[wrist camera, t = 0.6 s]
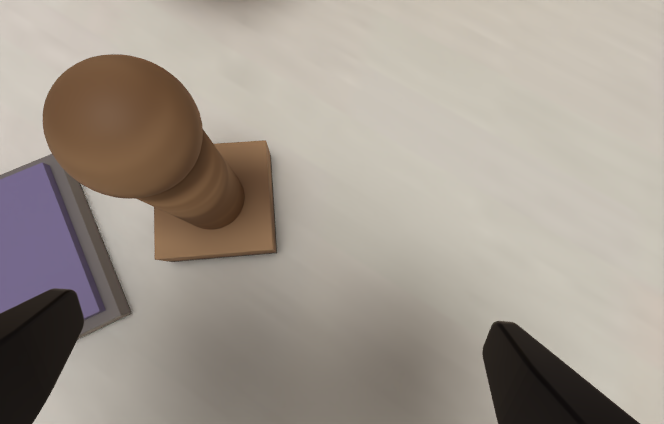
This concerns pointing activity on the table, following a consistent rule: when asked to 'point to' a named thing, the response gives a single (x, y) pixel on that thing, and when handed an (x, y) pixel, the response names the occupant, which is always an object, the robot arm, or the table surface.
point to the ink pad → (54, 244)
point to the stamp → (161, 158)
